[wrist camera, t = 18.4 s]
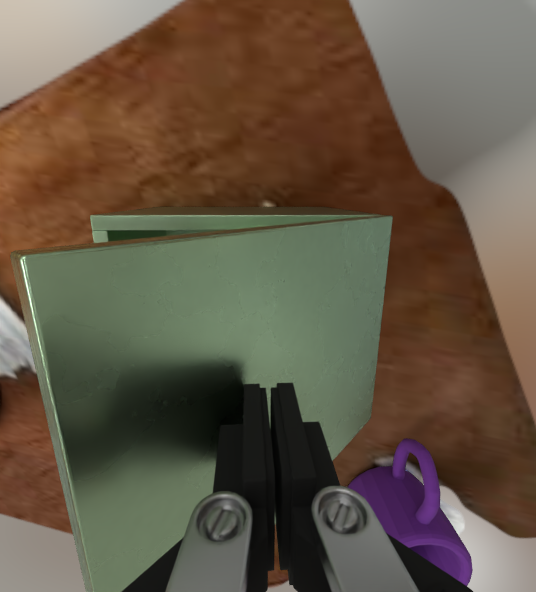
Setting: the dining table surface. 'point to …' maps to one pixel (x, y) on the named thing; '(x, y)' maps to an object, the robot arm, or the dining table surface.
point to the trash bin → (204, 220)
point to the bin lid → (191, 363)
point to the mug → (415, 510)
